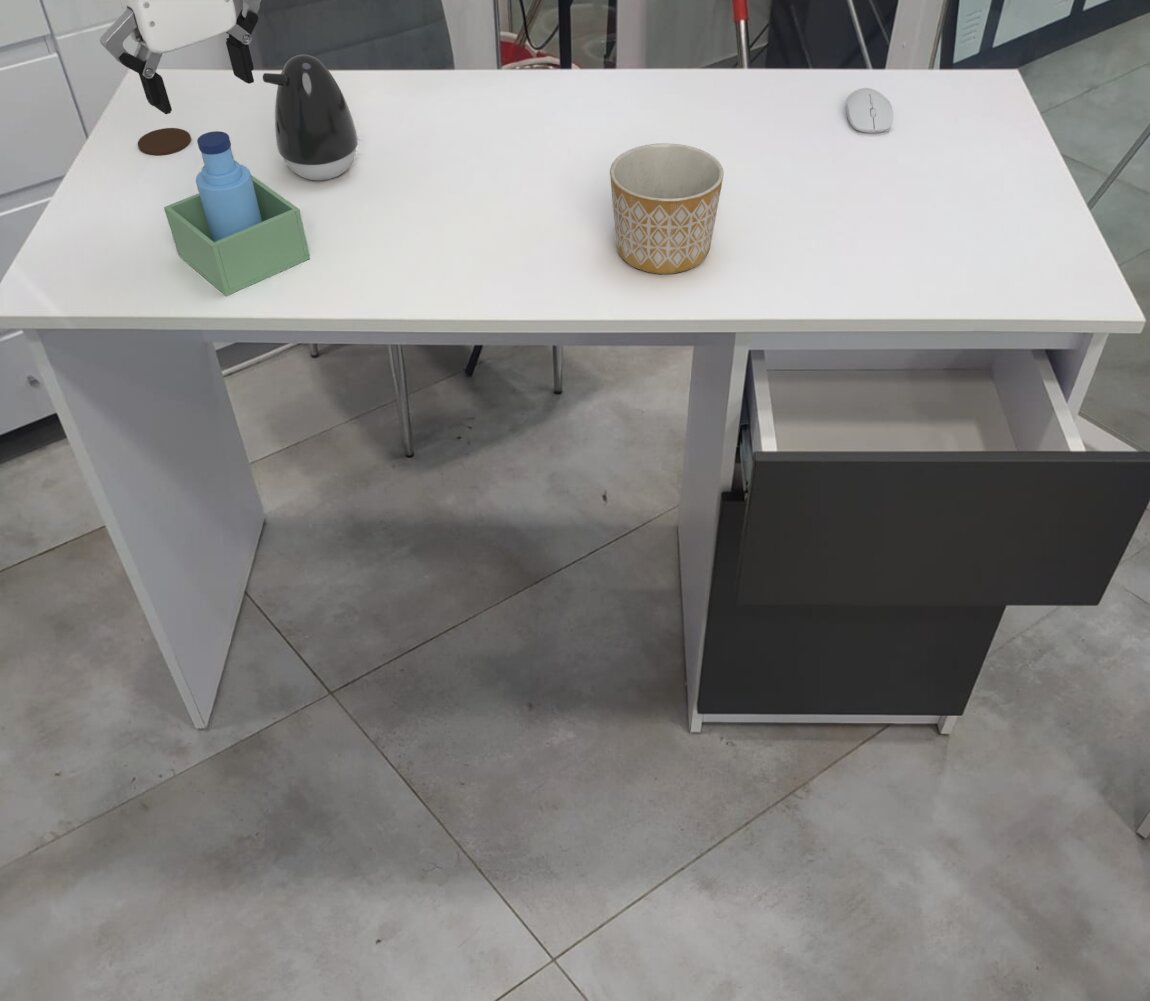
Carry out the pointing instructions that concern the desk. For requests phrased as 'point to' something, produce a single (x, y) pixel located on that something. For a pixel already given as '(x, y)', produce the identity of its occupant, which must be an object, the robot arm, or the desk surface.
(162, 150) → the coaster
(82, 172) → the desk surface
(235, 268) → the bin
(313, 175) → the pump dispenser
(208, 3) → the robot arm
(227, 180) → the bottle
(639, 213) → the planter
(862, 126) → the computer mouse
